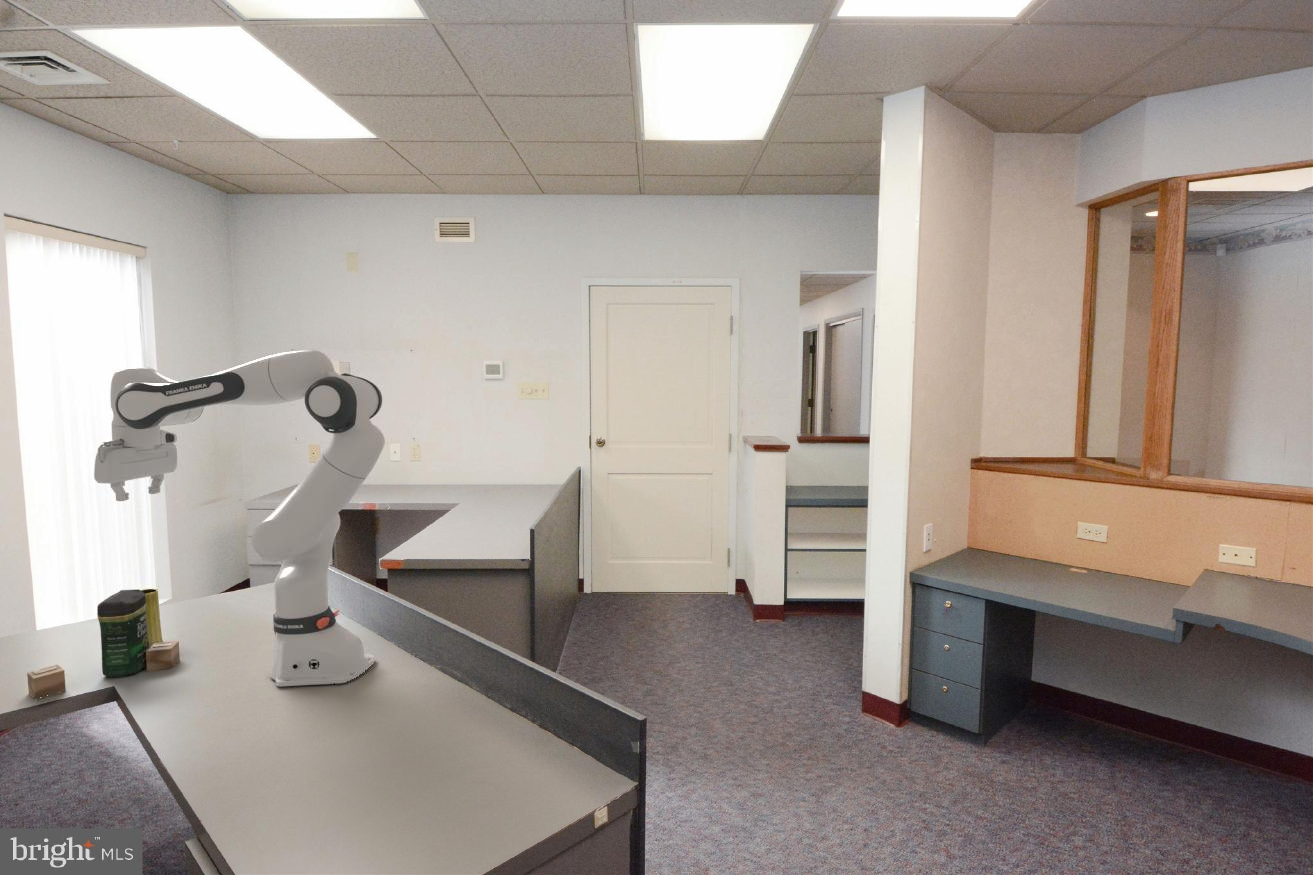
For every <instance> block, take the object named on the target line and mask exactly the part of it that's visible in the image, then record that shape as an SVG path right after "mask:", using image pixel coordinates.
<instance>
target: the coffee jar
mask: <svg viewBox="0 0 1313 875" xmlns="http://www.w3.org/2000/svg"><path fill="white" fill-rule="evenodd" d="M140 590H141V589H140V588H139V589H121V590H119V591H118V592H115V593H114V594H112V595H110V596H108V597H107V598H105V599H104V600H103V601H101V602H100V603H99V604H97V612H96V613H97V614H96V615H97V620H98V623H99V629H100V644H101V646H100V647H101V671H102V674H103V676H104V677H110V678H123V677H125V676H129V675H134V674H137V673H138V672H140V671H141V670H143V668H145V666H146V667H147V662H146V651H147V650H148V649H149V648H150V646H149V640H148V632H147V624H146V599H145V594H144V593H143V592H142V591H140Z"/></svg>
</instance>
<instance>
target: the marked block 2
mask: <svg viewBox="0 0 1313 875" xmlns="http://www.w3.org/2000/svg"><path fill="white" fill-rule="evenodd" d="M180 658H181V656H180V642H179V640H175V641H173V640H172V641H163V642H162V643H154V644H153V645H152V646H151V647H150V648H149V649H148V650H147V651H146V662H147V665H146V672H154V671H162V670H163V671H164V670H170V669H171V670H172V669H173V668H174V667H175V666H177V664H178V663H179V662H180V661H181V660H180Z"/></svg>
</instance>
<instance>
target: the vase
mask: <svg viewBox="0 0 1313 875" xmlns="http://www.w3.org/2000/svg"><path fill="white" fill-rule="evenodd" d="M139 590H140V591H142V592H143V593H144V594H145V599H146V624H147V632H148V640H149V646H150V647H151V646H152V645H153V644H154V643H162V642H164V641H163V633H162V626H161V625H162V624H161V618H160V617H161V616H160V615H161V614H160V612H161V611H160V601H159V589H157V588H144V589H139Z"/></svg>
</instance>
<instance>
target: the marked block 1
mask: <svg viewBox="0 0 1313 875" xmlns="http://www.w3.org/2000/svg"><path fill="white" fill-rule="evenodd" d="M65 674H66V673H65V669H64V668H62V667H61V666H60V665H58V664H53V665H51V666H47V667H43V668H39V669H36V670H32V671H28V672H27V674H26V677H27V686H28V687H27V688H28V689H27V690H28V694H29V693H30V694H31V695H32V696H33V697H34V698H35V699H37V700H39V699H38V698H40V697H44V698H46V696H47V695H48V697H50V696H49V695H51V696H54V695H57V694H56V693H58V694H60V693H59V692H61V693H64V692H67V691H66V689H67V688H66V679H65V678H66V675H65ZM30 694H29V695H30ZM53 694H54V695H53ZM31 695H30V696H31ZM32 696H31V697H32ZM33 697H32V698H33ZM34 698H33V699H34ZM35 699H34V700H35Z"/></svg>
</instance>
